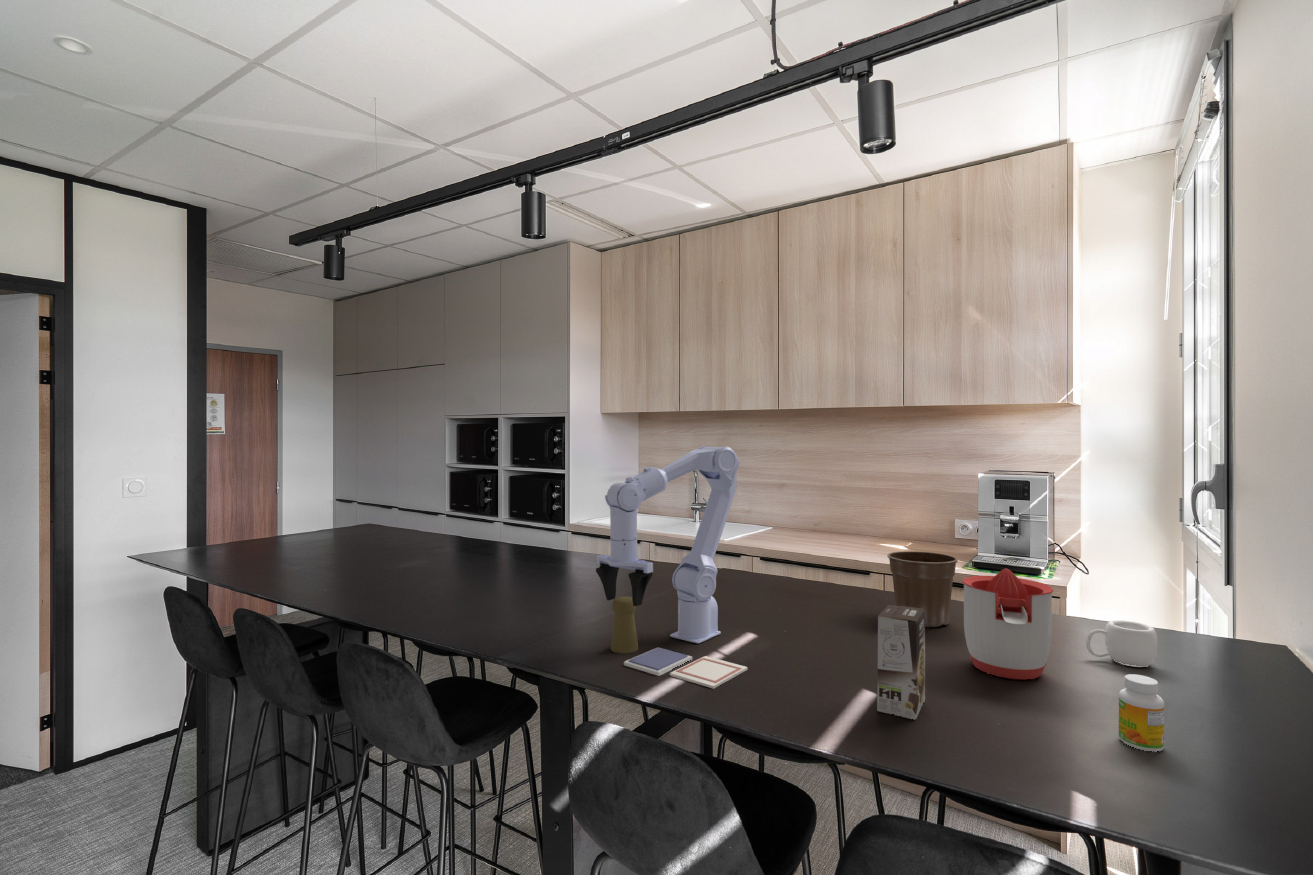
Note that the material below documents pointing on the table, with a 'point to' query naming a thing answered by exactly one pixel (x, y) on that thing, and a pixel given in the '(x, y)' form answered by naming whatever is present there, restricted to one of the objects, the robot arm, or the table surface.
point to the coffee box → (901, 661)
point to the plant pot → (924, 583)
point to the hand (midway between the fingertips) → (624, 602)
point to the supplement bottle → (1141, 714)
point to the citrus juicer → (1008, 624)
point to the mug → (1127, 642)
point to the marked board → (708, 671)
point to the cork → (624, 626)
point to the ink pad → (657, 661)
